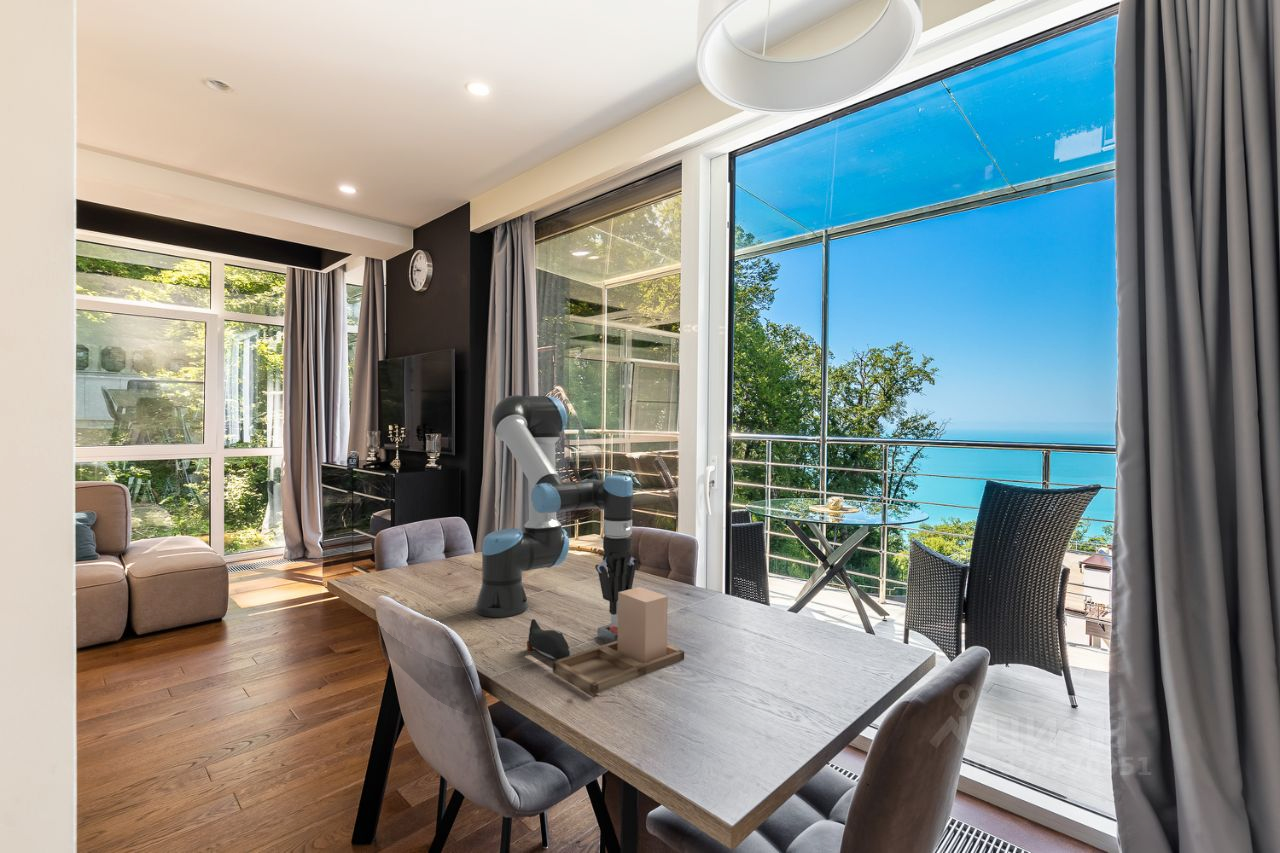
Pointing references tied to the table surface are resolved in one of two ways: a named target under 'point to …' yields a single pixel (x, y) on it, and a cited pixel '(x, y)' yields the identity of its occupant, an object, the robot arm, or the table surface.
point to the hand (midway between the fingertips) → (616, 625)
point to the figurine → (547, 642)
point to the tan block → (642, 624)
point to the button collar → (607, 634)
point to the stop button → (613, 629)
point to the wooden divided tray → (608, 667)
